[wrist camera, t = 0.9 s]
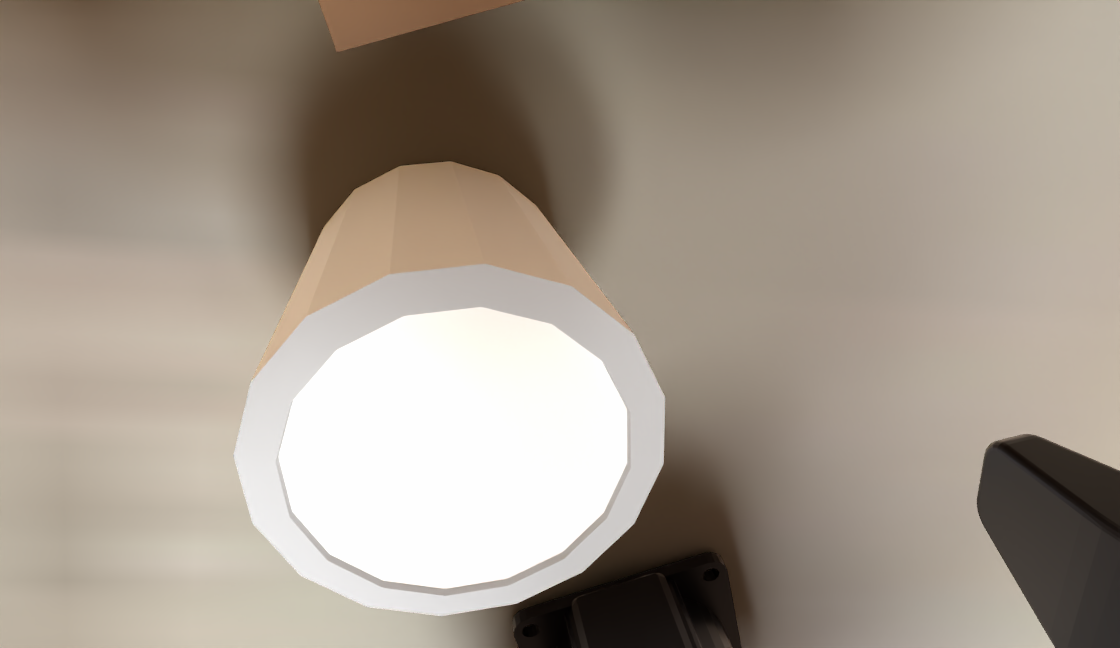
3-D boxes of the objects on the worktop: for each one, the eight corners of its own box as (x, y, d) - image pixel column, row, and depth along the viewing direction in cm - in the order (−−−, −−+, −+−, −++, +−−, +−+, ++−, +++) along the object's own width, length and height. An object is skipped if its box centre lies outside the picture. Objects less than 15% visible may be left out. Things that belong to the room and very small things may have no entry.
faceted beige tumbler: (561, 408, 22) (627, 616, 16) (282, 399, 20) (236, 627, 14) (608, 149, 19) (713, 283, 13) (284, 115, 17) (226, 249, 11)
